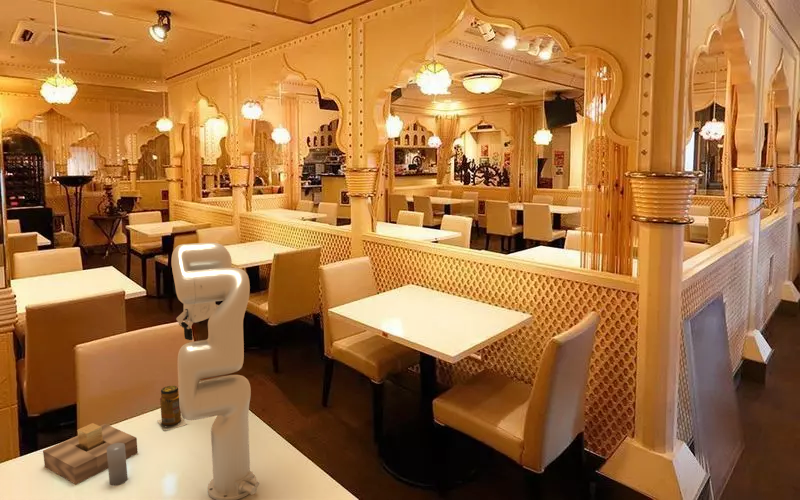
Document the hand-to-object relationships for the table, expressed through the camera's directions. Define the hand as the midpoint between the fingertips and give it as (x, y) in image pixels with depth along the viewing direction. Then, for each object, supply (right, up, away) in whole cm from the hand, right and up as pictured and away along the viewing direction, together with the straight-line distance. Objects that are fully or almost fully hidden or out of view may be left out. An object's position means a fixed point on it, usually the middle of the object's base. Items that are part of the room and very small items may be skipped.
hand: (200, 335), depth 177 cm
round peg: (-10, -35, -33) cm, 49 cm away
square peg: (-23, -33, -24) cm, 46 cm away
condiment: (-9, -29, -2) cm, 31 cm away
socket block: (-23, -33, -24) cm, 46 cm away
